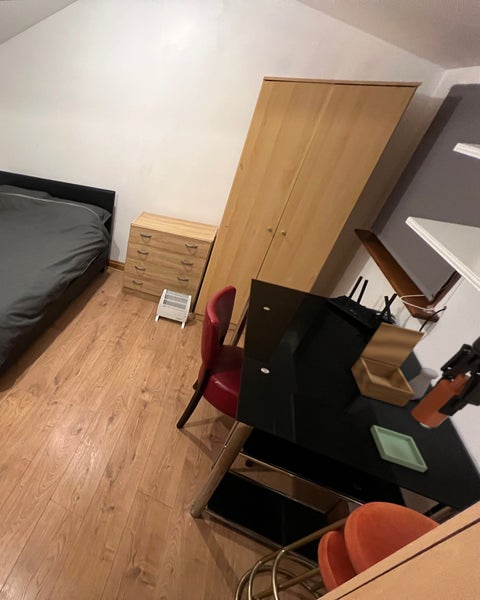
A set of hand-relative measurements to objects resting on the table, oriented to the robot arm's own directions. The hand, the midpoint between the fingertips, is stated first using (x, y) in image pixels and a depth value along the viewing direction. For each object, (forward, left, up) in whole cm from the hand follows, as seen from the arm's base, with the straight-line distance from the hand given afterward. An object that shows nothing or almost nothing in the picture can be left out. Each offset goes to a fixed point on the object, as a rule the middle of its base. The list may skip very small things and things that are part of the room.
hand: (438, 404), depth 90 cm
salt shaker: (+29, -14, -21) cm, 38 cm away
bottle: (0, 0, -6) cm, 6 cm away
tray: (-1, 0, -20) cm, 21 cm away
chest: (+28, -3, -20) cm, 35 cm away
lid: (+36, -3, -6) cm, 37 cm away
